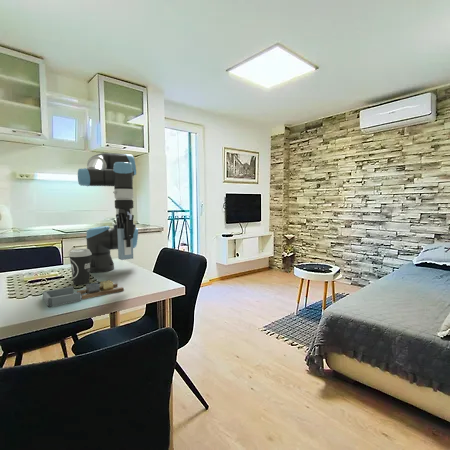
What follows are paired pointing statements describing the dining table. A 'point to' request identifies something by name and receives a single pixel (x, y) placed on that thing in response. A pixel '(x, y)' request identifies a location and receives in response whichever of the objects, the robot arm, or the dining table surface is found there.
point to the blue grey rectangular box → (121, 244)
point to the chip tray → (61, 296)
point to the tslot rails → (100, 292)
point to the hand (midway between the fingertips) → (125, 253)
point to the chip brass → (106, 285)
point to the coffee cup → (80, 265)
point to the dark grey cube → (92, 288)
